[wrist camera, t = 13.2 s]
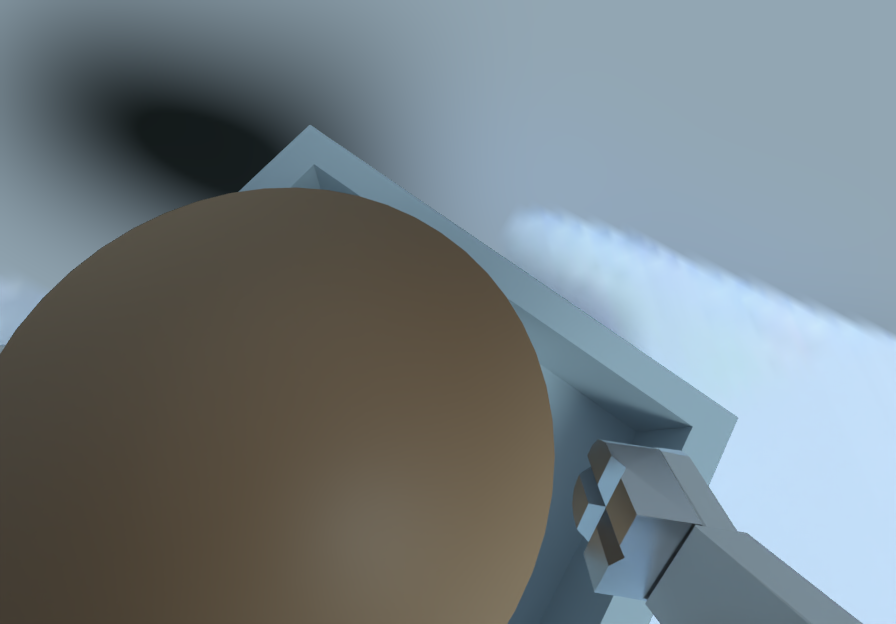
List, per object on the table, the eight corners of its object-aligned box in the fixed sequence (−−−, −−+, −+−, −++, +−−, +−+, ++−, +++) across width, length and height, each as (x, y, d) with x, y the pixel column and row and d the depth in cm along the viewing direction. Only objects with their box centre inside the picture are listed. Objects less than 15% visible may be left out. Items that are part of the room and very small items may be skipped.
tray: (24, 505, 15) (-115, 523, 11) (326, 193, 21) (309, 124, 16) (447, 856, 14) (472, 1031, 10) (660, 426, 19) (738, 417, 15)
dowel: (291, 474, 16) (-211, 512, 3) (363, 383, 17) (259, 110, 4) (382, 544, 15) (313, 990, 2) (448, 445, 17) (643, 368, 4)
